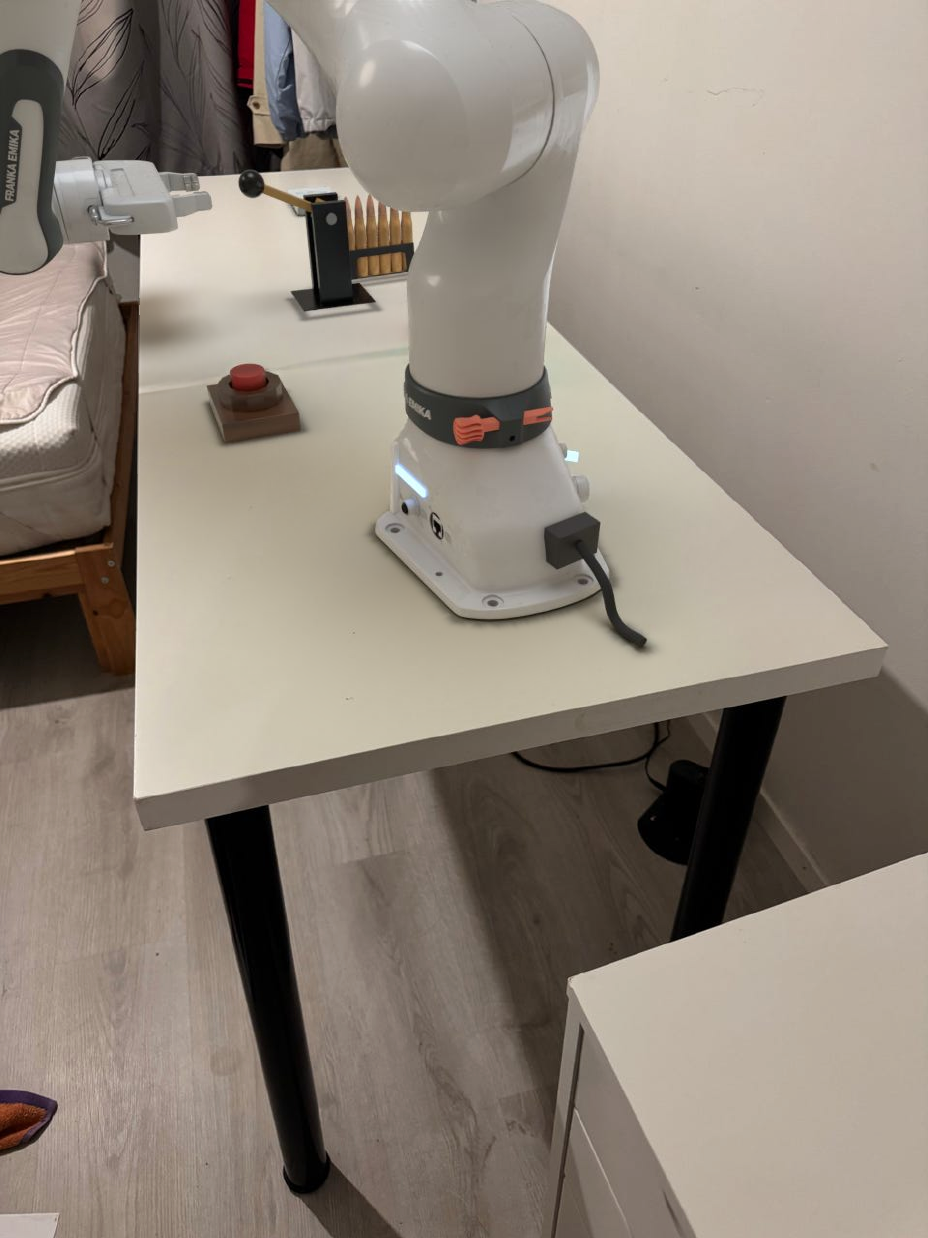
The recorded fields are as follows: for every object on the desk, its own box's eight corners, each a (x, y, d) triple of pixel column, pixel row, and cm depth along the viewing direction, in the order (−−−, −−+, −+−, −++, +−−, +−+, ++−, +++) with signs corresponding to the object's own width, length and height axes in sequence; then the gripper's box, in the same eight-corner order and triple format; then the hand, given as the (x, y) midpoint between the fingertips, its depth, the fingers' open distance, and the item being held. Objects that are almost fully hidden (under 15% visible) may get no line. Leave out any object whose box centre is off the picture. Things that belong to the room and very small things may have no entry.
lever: (237, 195, 110) (245, 168, 109) (233, 188, 112) (240, 162, 111) (334, 232, 117) (342, 207, 116) (328, 225, 119) (336, 201, 118)
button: (269, 390, 95) (267, 374, 94) (235, 395, 94) (233, 379, 93) (262, 376, 97) (260, 361, 96) (229, 381, 96) (226, 366, 95)
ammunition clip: (347, 287, 130) (341, 198, 122) (343, 283, 131) (336, 195, 123) (416, 277, 133) (414, 190, 125) (411, 274, 134) (409, 187, 127)
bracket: (305, 319, 120) (293, 209, 111) (291, 299, 126) (279, 193, 117) (376, 309, 123) (370, 202, 114) (360, 290, 129) (353, 187, 120)
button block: (301, 430, 95) (296, 395, 93) (225, 443, 93) (219, 408, 91) (280, 392, 103) (276, 359, 100) (209, 403, 100) (203, 369, 98)
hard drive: (298, 216, 158) (287, 197, 167) (343, 212, 160) (330, 194, 169) (297, 206, 157) (285, 188, 166) (343, 202, 158) (329, 185, 168)
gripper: (84, 194, 96) (214, 182, 100) (74, 153, 111) (187, 145, 115) (99, 254, 100) (223, 241, 104) (87, 207, 115) (196, 197, 119)
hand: (204, 190), depth 110 cm, fingers open, 8 cm apart
